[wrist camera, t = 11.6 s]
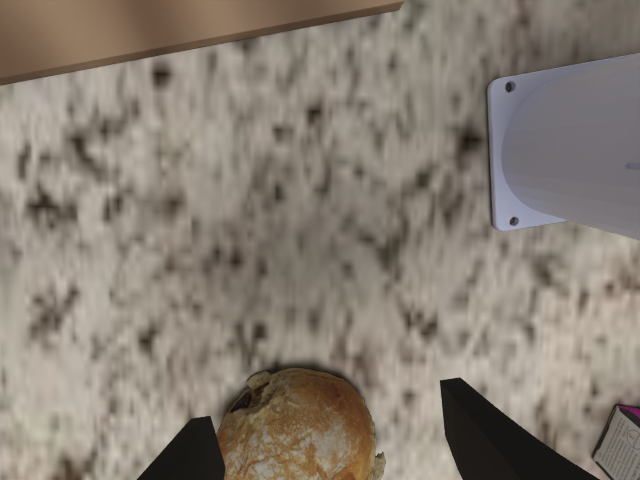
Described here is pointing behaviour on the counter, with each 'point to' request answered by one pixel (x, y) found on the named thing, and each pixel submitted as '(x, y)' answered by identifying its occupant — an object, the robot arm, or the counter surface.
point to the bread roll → (299, 430)
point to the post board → (146, 28)
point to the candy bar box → (620, 445)
